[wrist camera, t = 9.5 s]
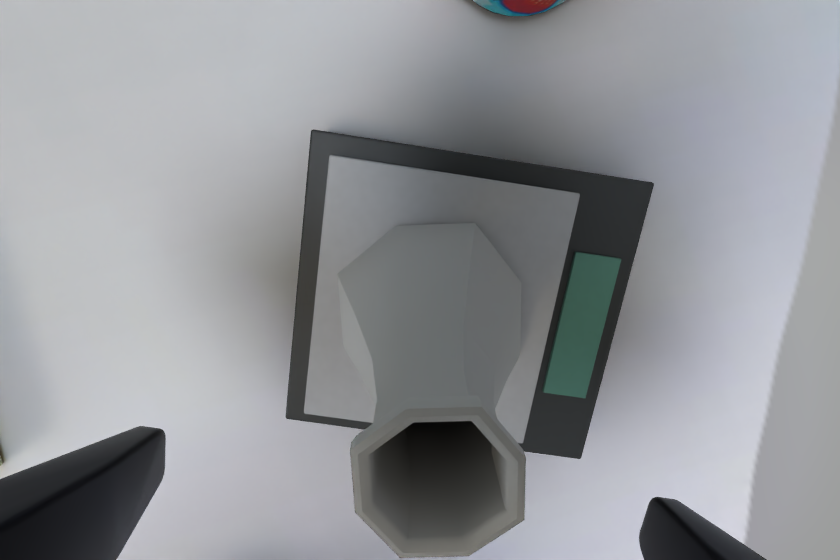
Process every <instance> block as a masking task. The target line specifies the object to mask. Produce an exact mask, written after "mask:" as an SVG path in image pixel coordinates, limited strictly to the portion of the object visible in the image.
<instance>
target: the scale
mask: <svg viewBox="0 0 840 560" xmlns="http://www.w3.org/2000/svg"><path fill="white" fill-rule="evenodd" d="M653 186H654V184H653V183H652V182H646V181H639V180H633V179H627V178H620V177H614V176H607V175H601V174H594V173H588V172H582V171H575V170H569V169H562V168H556V167H550V166H543V165H537V164H530V163H524V162H518V161H511V160H505V159H498V158H492V157H486V156H479V155H473V154H466V153H460V152H454V151H447V150H441V149H434V148H428V147H422V146H415V145H409V144H402V143H396V142H389V141H383V140H377V139H370V138H364V137H357V136H351V135H345V134H338V133H332V132H325V131H319V130H312V131H311V138H310V149H309V160H308V171H307V183H306V194H305V205H304V216H303V227H302V239H301V250H300V261H299V272H298V284H297V295H296V306H295V317H294V328H293V340H292V351H291V362H290V373H289V384H288V396H287V407H286V418H287V419H293V420H300V421H307V422H315V423H322V424H329V425H337V426H344V427H351V428H358V429H366V428H368V427H369V426H370V425H372V424H373V419H374V414H375V404H374V402H373V400H372V398H371V396H370V394H369V392H368V390H367V388H366V386H365V384H364V382H363V380H362V377H361V375H360V373H359V372H358V370H357V368H356V367H355V365H354V364H353V362H352V360H351V359H350V357H349V356H348V354H347V352H346V350H345V348H344V346H343V338H342V325H341V313H340V301H339V288H338V276H337V274H338V273H339V272H340V271H341V270H342V269H344V268H345V267H346V266H347V265H349V264H350V263H351V262H352V261H354V260H355V259H356V258H357V257H358V256H360V255H361V254H362V253H363V252H365V251H366V250H367V249H368V248H369V247H371V246H372V245H373V244H374V243H376V242H377V241H378V240H379V239H381V238H382V237H383V236H384V235H385V234H387V233H388V232H389V231H390V230H392V229H393V228H394V227H395V226H400V225H429V224H457V223H476V225H477V226H478V227H479V229H480V230H481V231H482V232H483V234H484V235H485V236H486V238H487V239H488V240H489V241H490V243H491V244H492V245H493V246H494V248H495V249H496V250H497V252H498V253H499V254H500V255H501V257H502V258H503V259H504V261H505V262H506V263H507V264H508V266H509V267H510V268H511V270H512V271H513V272H514V273H515V275H516V276H517V277H518V279H519V280H520V281H521V282H522V284H521V343H520V356H519V358H518V361H517V362H516V364H515V366H514V368H513V370H512V372H511V373H510V375H509V377H508V379H507V381H506V383H505V386H504V388H503V391H502V393H501V396H500V398H499V401H498V403H497V406H496V408H495V412H496V416H497V419H498V420H499V422H500V423H501V424H502V425H503V426H504V428H505V429H506V430H507V431H508V432H509V433H510V435H511V436H512V437H513V438H514V439H515V440H516V442H517V443H518V444H519V445H520V446H521V448H522V449H523V450H524V451H526V452H533V453H540V454H548V455H555V456H562V457H570V458H577V459H580V458H581V456H582V452H583V448H584V445H585V441H586V437H587V433H588V430H589V426H590V422H591V418H592V414H593V411H594V407H595V403H596V399H597V396H598V392H599V388H600V384H601V381H602V377H603V373H604V369H605V366H606V362H607V358H608V354H609V351H610V347H611V343H612V339H613V336H614V332H615V328H616V324H617V321H618V317H619V313H620V309H621V306H622V302H623V298H624V294H625V291H626V287H627V283H628V279H629V276H630V272H631V268H632V264H633V261H634V257H635V253H636V249H637V246H638V242H639V238H640V234H641V231H642V227H643V223H644V219H645V216H646V212H647V208H648V204H649V201H650V197H651V193H652V189H653Z"/></svg>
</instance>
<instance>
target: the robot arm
mask: <svg viewBox="0 0 840 560" xmlns="http://www.w3.org/2000/svg"><path fill="white" fill-rule="evenodd" d="M165 439H166V438H165V433H164V431H163V430H162V429H159V428H152V427H145V426H139V427H136V428H133V429H131V430H128V431H125V432H123V433H120V434H118V435H115V436H112V437H110V438H107V439H104V440H102V441H99V442H97V443H94V444H91V445H89V446H86V447H83V448H81V449H78V450H76V451H73V452H70V453H68V454H65V455H62V456H60V457H57V458H55V459H52V460H49V461H47V462H44V463H42V464H39V465H36V466H34V467H31V468H28V469H26V470H23V471H21V472H18V473H15V474H13V475H10V476H7V477H5V478H2V479H0V560H116V559H117V558H118V556H119V554H120V553H121V551H122V549H123V547H124V546H125V544H126V542H127V540H128V539H129V537H130V535H131V534H132V532H133V530H134V528H135V527H136V525H137V523H138V521H139V520H140V518H141V516H142V514H143V513H144V511H145V509H146V507H147V506H148V504H149V502H150V500H151V499H152V497H153V495H154V493H155V492H156V490H157V488H158V486H159V485H160V483H161V481H162V478H163V475H164V471H165ZM639 543H640V548H641V551H642V554H643V557H644V560H766V559H765V558H763V557H762V556H760V555H759V554H757V553H756V552H754V551H753V550H751V549H750V548H748V547H747V546H745V545H744V544H742V543H741V542H739V541H738V540H736V539H735V538H733V537H732V536H730V535H729V534H727V533H726V532H724V531H723V530H721V529H720V528H718V527H717V526H715V525H714V524H712V523H711V522H709V521H708V520H706V519H705V518H703V517H702V516H700V515H699V514H697V513H696V512H694V511H693V510H691V509H690V508H688V507H687V506H685V505H684V504H682V503H681V502H679V501H677V500H675V499H668V498H661V497H655V498H653V499H652V500H651V501H650V503H649V505H648V508H647V511H646V514H645V518H644V521H643V524H642V527H641V530H640V535H639Z"/></svg>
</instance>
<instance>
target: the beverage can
mask: <svg viewBox="0 0 840 560" xmlns="http://www.w3.org/2000/svg"><path fill="white" fill-rule="evenodd" d="M473 1H474V2H475V3H477V4H478V5H479V6H481V7H483V8H485V9H487V10H489V11H491V12H493V13H497V14H502V15H506V16H530V15H534V14H538V13H542V12H545V11H547V10H549V9H551V8H553V7H555V6H557V5H559V4H561V3H563V2H564V1H565V0H473Z"/></svg>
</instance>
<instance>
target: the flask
mask: <svg viewBox="0 0 840 560" xmlns="http://www.w3.org/2000/svg"><path fill="white" fill-rule="evenodd" d="M337 276H338V288H339V301H340V313H341V325H342V338H343V346H344V348H345V350H346V352H347V354H348V356H349V357H350V359H351V360H352V362H353V364H354V365H355V367H356V368H357V370H358V372H359V373H360V375H361V377H362V380H363V382H364V384H365V386H366V388H367V390H368V392H369V394H370V396H371V398H372V400H373V402H374V404H375V414H374V419H373V424H372V425H370V426H369V427H368V428H366V429H365V430H363V431H362V432H361V433H359V434H358V435H357V436H356V437H355V438H354V439H353V441H352V442H351V447H350V455H351V468H352V480H353V492H354V504H355V513H356V514H357V515H358V516H359V517H360V518H361V519H362V520H363V521H364V522H365V523H366V524H367V525H368V526H369V527H370V528H371V529H372V530H373V531H374V532H375V533H376V534H377V535H378V536H379V537H380V538H381V539H382V540H383V541H384V542H385V543H386V544H387V545H388V546H389V547H390V548H391V549H392V550H393V551H394V552H395V553H396V554H397V555H398V556H399V557H400V558H412V557H454V556H470V555H471V554H473V553H474V552H476V551H477V550H479V549H480V548H482V547H483V546H485V545H486V544H488V543H490V542H491V541H493V540H494V539H496V538H497V537H499V536H500V535H502V534H503V533H505V532H506V531H508V530H510V529H511V528H513V527H514V526H516V525H517V524H519V523H520V522H522V521H523V520H524V510H525V463H526V458H525V454H524V450H523V449H522V448H521V446H520V445H519V444H518V443H517V442H516V440H515V439H514V438H513V437H512V436H511V435H510V433H509V432H508V431H507V430H506V429H505V428H504V426H503V425H502V424H501V423H500V422H499V420H498V419H497V416H496V412H495V408H496V406H497V403H498V401H499V398H500V396H501V393H502V391H503V388H504V386H505V383H506V381H507V379H508V377H509V375H510V373H511V372H512V370H513V368H514V366H515V364H516V362H517V361H518V358H519V356H520V343H521V284H522V282H521V281H520V280H519V279H518V277H517V276H516V275H515V273H514V272H513V271H512V270H511V268H510V267H509V266H508V264H507V263H506V262H505V261H504V259H503V258H502V257H501V255H500V254H499V253H498V252H497V250H496V249H495V248H494V246H493V245H492V244H491V243H490V241H489V240H488V239H487V238H486V236H485V235H484V234H483V232H482V231H481V230H480V229H479V227H478V226H477V225H476V223H457V224H429V225H400V226H395V227H394V228H393V229H392V230H390V231H389V232H388V233H387V234H385V235H384V236H383V237H382V238H381V239H379V240H378V241H377V242H376V243H374V244H373V245H372V246H371V247H369V248H368V249H367V250H366V251H365V252H363V253H362V254H361V255H360V256H358V257H357V258H356V259H355V260H354V261H352V262H351V263H350V264H349V265H347V266H346V267H345V268H344V269H342V270H341V271H340V272H339V273H338V274H337Z"/></svg>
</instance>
